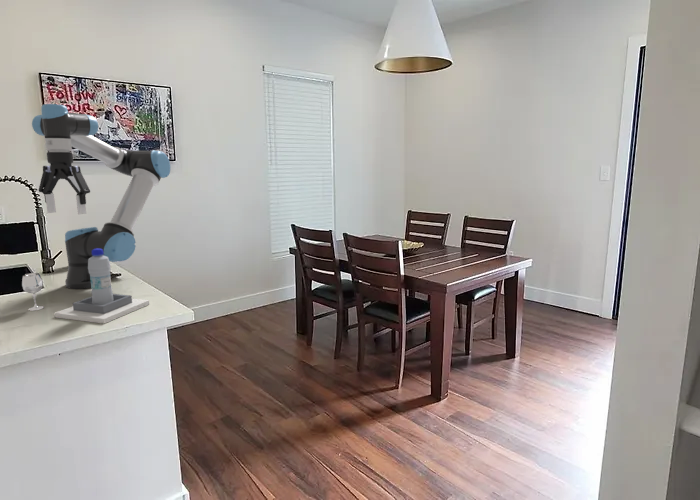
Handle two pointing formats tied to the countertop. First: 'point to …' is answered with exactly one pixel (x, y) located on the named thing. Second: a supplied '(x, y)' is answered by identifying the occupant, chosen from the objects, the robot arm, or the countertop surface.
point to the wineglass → (32, 287)
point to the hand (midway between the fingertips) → (66, 213)
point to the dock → (101, 309)
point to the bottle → (100, 277)
